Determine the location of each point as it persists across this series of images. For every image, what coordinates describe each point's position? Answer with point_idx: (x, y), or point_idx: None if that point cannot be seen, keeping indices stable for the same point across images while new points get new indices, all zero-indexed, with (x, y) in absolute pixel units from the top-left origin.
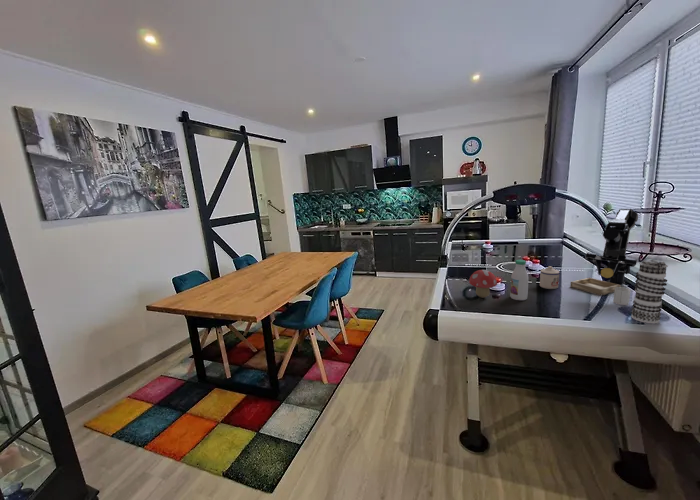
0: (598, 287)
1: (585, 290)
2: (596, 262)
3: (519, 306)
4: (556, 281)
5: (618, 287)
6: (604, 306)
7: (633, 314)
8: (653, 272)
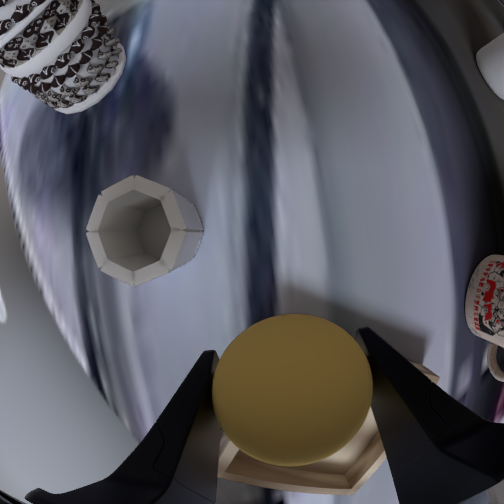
0: None
1: None
2: (498, 428)
3: (449, 7)
4: (498, 285)
5: (164, 259)
6: (233, 112)
7: (116, 38)
8: None
